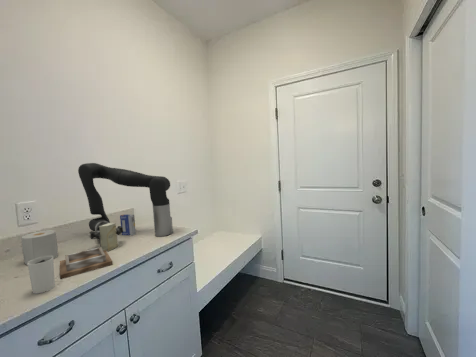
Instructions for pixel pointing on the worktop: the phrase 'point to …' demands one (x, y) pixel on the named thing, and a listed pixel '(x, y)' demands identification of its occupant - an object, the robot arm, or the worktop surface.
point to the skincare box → (108, 236)
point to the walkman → (128, 224)
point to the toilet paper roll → (39, 245)
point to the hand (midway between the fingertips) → (109, 235)
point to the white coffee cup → (41, 274)
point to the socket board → (84, 262)
